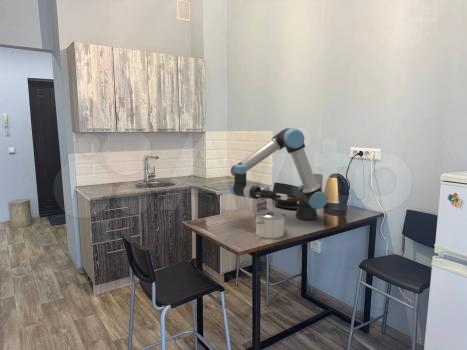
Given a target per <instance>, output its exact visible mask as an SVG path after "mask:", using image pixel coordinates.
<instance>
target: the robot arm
mask: <svg viewBox="0 0 467 350" xmlns="http://www.w3.org/2000/svg"><path fill="white" fill-rule="evenodd" d="M284 148H285V149H286V152H287V154H289V155H291V158H292V160H293V163H294V166H295V168H296V170H297V171H296V172H297V173H298V177H299V179H300V181H301V183H302V184H300V185H299V187H298V199H299V200H298V203H297V204H298V208H297V209H296V212H295V218H296V219H298V220H302V221H316V220H318V218H319V214H318V211H317V210H320V209H323V208H324V207H325V206H326V205H327V202H328V197H327V194H326V193H325V192H323V188H322V189H321V186H320V185H319V184H317V183H316V180H315V177H314V175H313V174H314V172H313V170H312V168H311V165H310V161H309V159H308V156H307V154H306V151H305V148H306V144H305V135H304V133H303V131H302V130H300V129H298V128H289V127H287V128H284V129H282V130H281V131H279V132H278V133H276V134H275V135H274V136H272V137H271V139H270V141H268V142H267V143H265V144H264V145H263V146H261V147H260V148H258V149H257V150H255V151H254V152H252V153H251V154H250V155H248V156H247V157H245V158H243V160H241V161H240V162H238V163H237V164H235V165H232V166H231V167H230V173H231V175H232V176H233V177H234V178H233V180H234V181H233V183H232V184H231V186H230V193H231V194H232V195H234V196H237V197H242V198H248V199H252V200H253V199H258V198H267V199H270V200H272V199H273V200H277V199H282V200H287V195H288V194H284V193H280V192H278V191H274V190H273V191H272V190H270V189H267V191H265V190H261V188H262V187H260V186H257V185H256V186H255V185H250V184H247V172H248V171H250V170H251V169H253V168H254V167H256V166H257V165H258V164H260V163H261V162H263V161H264V160H265V159H267V158H268V157H269V156H271V155H272V154H273V153H275V152H277V151H281V150H282V149H284Z"/></svg>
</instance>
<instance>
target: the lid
mask: <svg viewBox="0 0 467 350" xmlns="http://www.w3.org/2000/svg"><path fill="white" fill-rule="evenodd" d="M253 212H254V211H253ZM255 214H256V216H257V217H259V218H263V219H270V220H276V219H282V218H284V219H285V217H286V213H285V212H283V211H281V210H276V209H267V210H259V211H255V212H254V215H255Z"/></svg>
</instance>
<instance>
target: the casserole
mask: <svg viewBox="0 0 467 350" xmlns="http://www.w3.org/2000/svg"><path fill="white" fill-rule="evenodd" d="M286 195H287V200H282V199H276V200H277V201H273V202H272V203H273V204H274V205H275V206H277V207H280V208H282V209H287V210H289V209H294V210H295V209H296V210H297V209H298V204H299V196H296V195H293V194H286Z"/></svg>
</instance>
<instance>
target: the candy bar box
mask: <svg viewBox="0 0 467 350" xmlns="http://www.w3.org/2000/svg"><path fill="white" fill-rule="evenodd" d="M260 188H261V190H265V191H268V189H267V188H265V187H260ZM267 199H268V198H258V199H253V198H252V212H255V211H259V210H268V209H267V202H268V201H267Z"/></svg>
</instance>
